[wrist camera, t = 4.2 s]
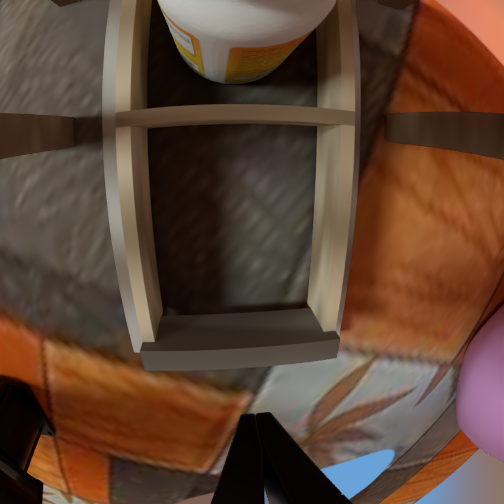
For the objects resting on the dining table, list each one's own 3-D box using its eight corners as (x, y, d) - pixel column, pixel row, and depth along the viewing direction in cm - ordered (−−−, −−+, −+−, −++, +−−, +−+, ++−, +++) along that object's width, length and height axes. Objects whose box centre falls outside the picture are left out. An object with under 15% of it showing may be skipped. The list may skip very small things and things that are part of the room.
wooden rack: (315, 318, 18) (336, 358, 14) (155, 327, 17) (144, 370, 13) (323, -28, 11) (349, -60, 7) (144, -31, 10) (129, -67, 6)
